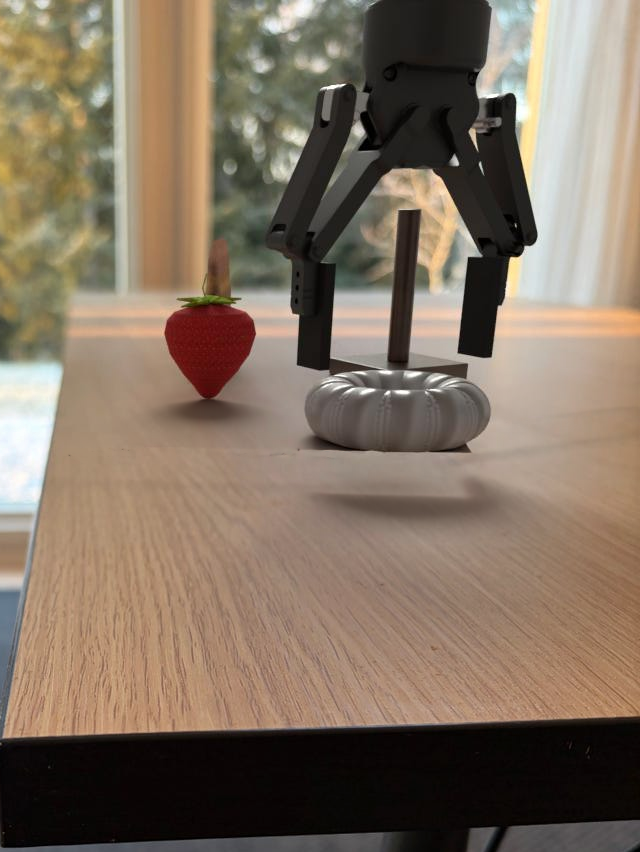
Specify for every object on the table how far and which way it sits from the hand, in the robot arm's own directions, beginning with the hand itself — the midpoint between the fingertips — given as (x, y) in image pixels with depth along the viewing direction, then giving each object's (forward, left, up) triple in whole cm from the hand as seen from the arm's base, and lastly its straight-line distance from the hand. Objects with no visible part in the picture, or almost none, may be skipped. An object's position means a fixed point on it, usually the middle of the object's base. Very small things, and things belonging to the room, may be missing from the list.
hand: (396, 362), depth 72 cm
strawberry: (+4, -19, -5) cm, 21 cm away
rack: (-17, -21, -5) cm, 28 cm away
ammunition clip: (-4, -32, -5) cm, 33 cm away
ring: (0, 0, -3) cm, 3 cm away
